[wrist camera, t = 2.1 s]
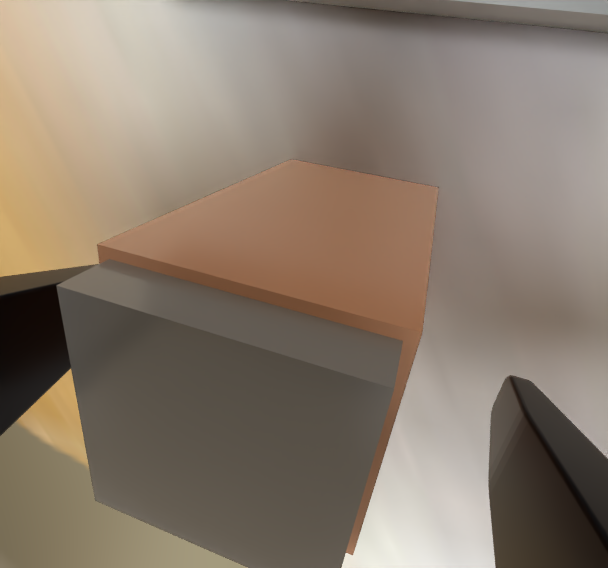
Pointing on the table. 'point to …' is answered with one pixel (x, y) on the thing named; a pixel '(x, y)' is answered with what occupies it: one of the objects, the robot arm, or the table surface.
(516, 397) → the robot arm
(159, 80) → the table surface
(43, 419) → the table surface
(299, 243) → the tall box
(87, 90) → the table surface
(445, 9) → the tray
